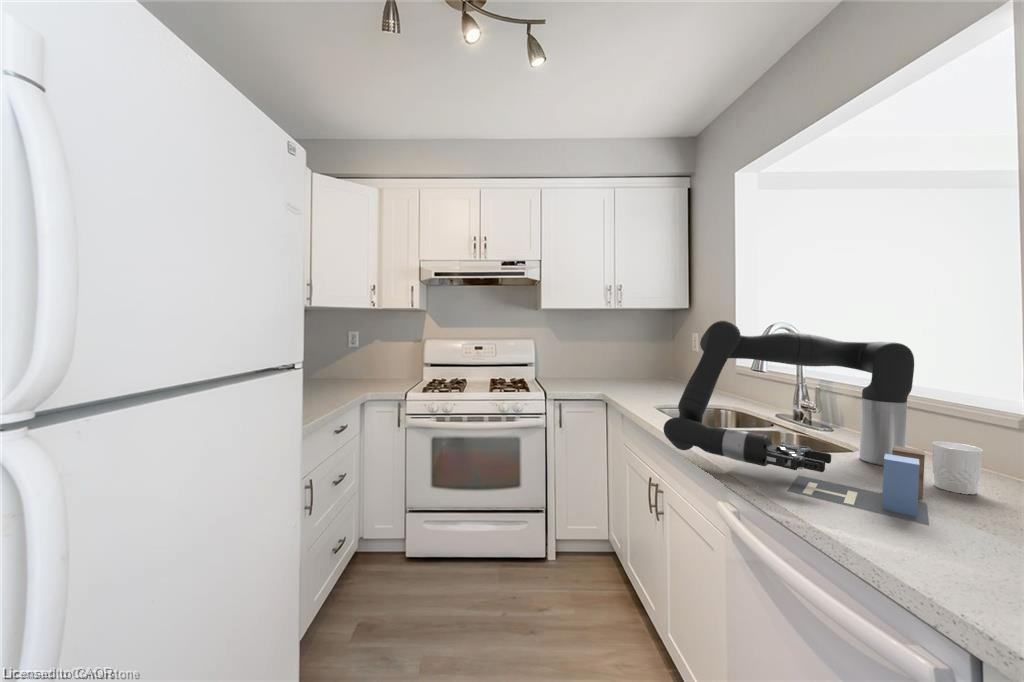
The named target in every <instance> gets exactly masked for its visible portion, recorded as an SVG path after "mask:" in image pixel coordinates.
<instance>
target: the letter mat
mask: <svg viewBox="0 0 1024 682" xmlns="http://www.w3.org/2000/svg"><path fill="white" fill-rule="evenodd" d="M786 492H789V493H793V494H797V495H801V496H803V497H805V496H806V497H809V498H812V499H813V498H814V499H817V500H821V501H826V502H830V503H834V504H838V505H842V506H846V507H850V508H854V509H858V510H864V511H867V512H871V513H874V514H879V515H884V516H887V517H892V518H896V519H900V520H904V521H909V522H912V523H917V524H921V525H925V526H930V518H929V512H928V503H927V502H924V501H920V500H918V514H917V517H916V516H912V515H908V514H903V513H899V512H895V511H890V510H886V509H882V497H883V492H882V493H881V492H878V491H872V490H868V489H863V488H859V487H854V486H849V485H846V484H845V485H844V484H841V483H835V482H833V481H832V482H831V481H827V480H826V481H825V480H822V479H816V478H813V477H808V476H803V475H797V476H796V478H795V479H794V480H793V482H792V483H791V484H790V486H789V487H788V488H787V489H786Z"/></svg>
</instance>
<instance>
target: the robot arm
mask: <svg viewBox="0 0 1024 682" xmlns="http://www.w3.org/2000/svg"><path fill="white" fill-rule="evenodd" d="M699 341H700V343H699V345H700V348H701V350H702V351H703V353H702V355H701V358H700V360H699V362H698V364H697V366H696V368H695V369H694V371H693V373H692V375H691V376H690V379H689V381H688V382H687V384H686V385H685V388H684V391H683V393H682V394H681V397H680V399H679V402H678V406H677V409H678V412H679V413H678V414H679V415H678V417H677V416H676V417H672V418H669V419H668V420H666V421H665V423H664V424H663V428H662V429H663V433H664V436H665V437H666V439H667V440H668V441H669V442H670V443H671V444H672V445H673V446H674V447H675V448H676V449H678V450H680V451H688V450H690V449H692V448H693V447H697V448H699V449H701V450H702V451H704V452H705V453H707V454H708V453H709V454H712V455H715V456H720V457H724V458H729V459H731V460H734V461H739V462H743V463H748V464H752V465H757V466H760V467H767V466H768V465H771V466H774V467H775V466H776V467H779V468H783V469H784V468H785V469H787V470H792V471H798V470H803V469H805V470H810V471H813V472H819V473H825V471H826V464H831V462H832V454H831V453H829V452H822V451H818V450H812V448H810V447H809V446H807V445H802V444H801V445H799V444H795V443H788V442H785V441H781V442H779V443H778V444H773V443H772V439H771V436H770V435H768V434H764V433H757V432H751V431H746V430H741V429H739V430H738V429H729V428H722V427H717V426H710V425H707V424H704V423H703V418H704V414H705V412H706V410H707V408H708V405H709V403H710V400H711V398H712V395H713V392H714V390H715V388H716V385H717V382H718V380H719V377H720V375H721V373H722V371H723V369H724V366H725V365H726V363H727V361H728V359H739V360H755V361H761V362H762V361H763V362H770V363H778V364H779V363H780V364H786V365H791V366H792V365H793V366H799V367H801V366H802V367H840V368H842V367H843V368H846V369H853V370H857V371H862V372H866V373H869V374H871V380H870V383H869V384H868V386H865V387H864V388H862V390H861V412H860V413H861V417H860V439H859V440H860V441H859V443H860V444H859V459H860V460H862V461H864V462H866V463H870V464H874V465H878V466H883V467H884V456H885V454H890V455H892V449H893V446H899V447H906V443H907V441H906V439H907V436H906V435H907V417H908V413H907V412H908V411H907V410H908V397H909V395H910V393H911V391H912V388H913V383H914V374H915V373H914V372H915V357H914V352H913V351H912V350H911V348H910V347H908V346H907V345H905V344H903V343H900V342H896V341H895V342H893V341H863V342H862V341H843V340H842V341H841V340H836V339H832V338H828V337H824V336H820V335H816V334H811V333H810V334H809V333H802V332H777V333H775V332H774V333H768V334H762V335H761V334H760V335H751V336H750V335H742V334H741V330H740V329H739V327H738V326H737V324H735V323H734V322H732V321H729V320H718V321H716V322H714V323H712V324H710V326H709V327H708V328H707V329H706V331H705V332H704V334H703V335H702V337H701V339H700V340H699Z"/></svg>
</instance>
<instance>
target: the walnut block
mask: <svg viewBox="0 0 1024 682" xmlns="http://www.w3.org/2000/svg"><path fill="white" fill-rule="evenodd" d="M892 455H897V456H903V457H909V458H915V459H919V464H920V467H919V490H918V499H924V480H925V479H924V477H925V459H926V457H925V456H926V455H925V450H924V449H919V448H918V449H917V448H913V447H912V448H911V447H906V446H905V447H899V446H893V449H892Z"/></svg>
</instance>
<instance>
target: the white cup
mask: <svg viewBox="0 0 1024 682" xmlns="http://www.w3.org/2000/svg"><path fill="white" fill-rule="evenodd" d="M931 452H932V457H931V458H932V461H931V462H932V474H933V484H934V487H936V488H938V489H940V490H944V491H948V492H950V491H951V492H950V493H956V494H960V493H961V494H962V495H968V494H972V495H971V496H973V495H977V494H978V490H979V488H978V487H979V481H980V477H981V476H980V475H981V471H982V462H983V453H984V449H982V448H980V447H978V446H973V445H969V444H965V443H960V442H959V443H958V442H953V441H952V442H951V441H942V440H941V441H938V440H937V441H932V442H931Z"/></svg>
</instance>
